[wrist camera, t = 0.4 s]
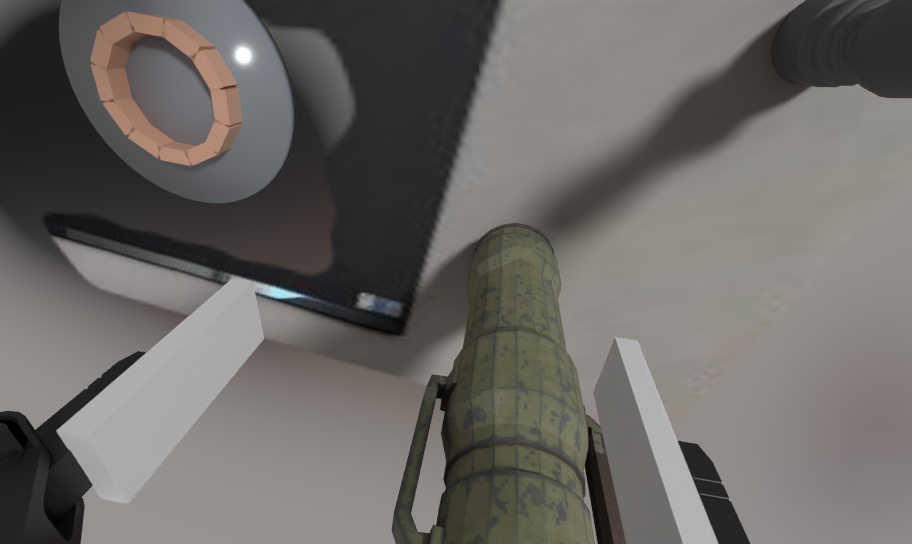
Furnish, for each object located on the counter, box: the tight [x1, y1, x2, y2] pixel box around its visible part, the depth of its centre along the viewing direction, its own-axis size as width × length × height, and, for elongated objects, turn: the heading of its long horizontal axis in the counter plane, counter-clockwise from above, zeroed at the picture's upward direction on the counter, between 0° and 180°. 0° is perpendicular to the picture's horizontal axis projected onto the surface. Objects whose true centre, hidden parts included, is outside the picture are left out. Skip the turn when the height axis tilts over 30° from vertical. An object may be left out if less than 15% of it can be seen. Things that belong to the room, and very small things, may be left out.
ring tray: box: [59, 0, 296, 203], centre depth 38 cm, size 22×22×3 cm
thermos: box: [392, 223, 626, 544], centre depth 29 cm, size 9×12×35 cm
